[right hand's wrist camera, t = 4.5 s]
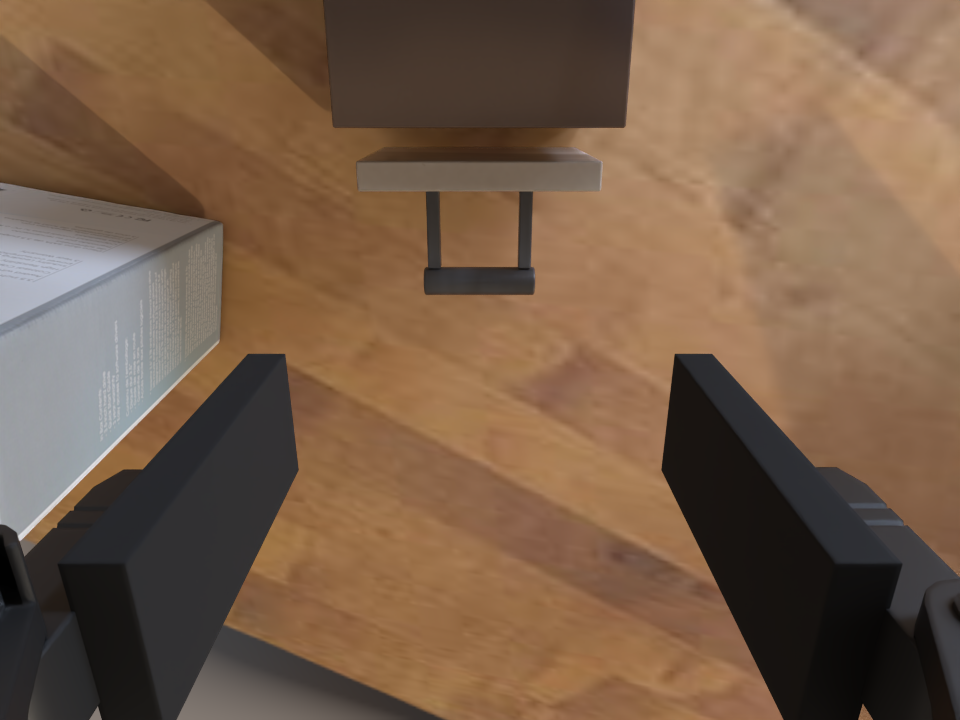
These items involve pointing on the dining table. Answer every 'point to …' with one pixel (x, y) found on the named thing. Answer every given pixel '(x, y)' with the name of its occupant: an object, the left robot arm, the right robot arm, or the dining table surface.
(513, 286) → the drawer
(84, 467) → the hard drive box
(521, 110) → the cabinet
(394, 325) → the dining table surface
